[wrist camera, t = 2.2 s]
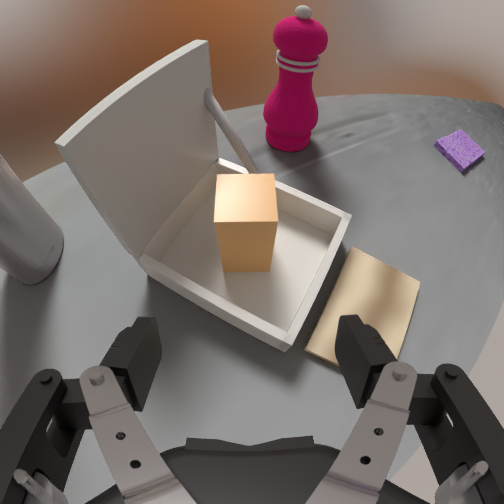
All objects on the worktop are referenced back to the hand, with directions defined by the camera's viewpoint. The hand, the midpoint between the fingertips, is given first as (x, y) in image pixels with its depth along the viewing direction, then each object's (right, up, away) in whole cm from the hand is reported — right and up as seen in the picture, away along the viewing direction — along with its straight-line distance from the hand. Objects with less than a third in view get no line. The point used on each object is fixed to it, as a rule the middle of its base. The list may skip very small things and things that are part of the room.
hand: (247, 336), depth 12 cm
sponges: (+39, +22, +29) cm, 53 cm away
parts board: (+12, -3, +15) cm, 20 cm away
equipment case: (0, +3, +18) cm, 18 cm away
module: (0, +4, +17) cm, 18 cm away
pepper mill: (+5, +20, +27) cm, 34 cm away
